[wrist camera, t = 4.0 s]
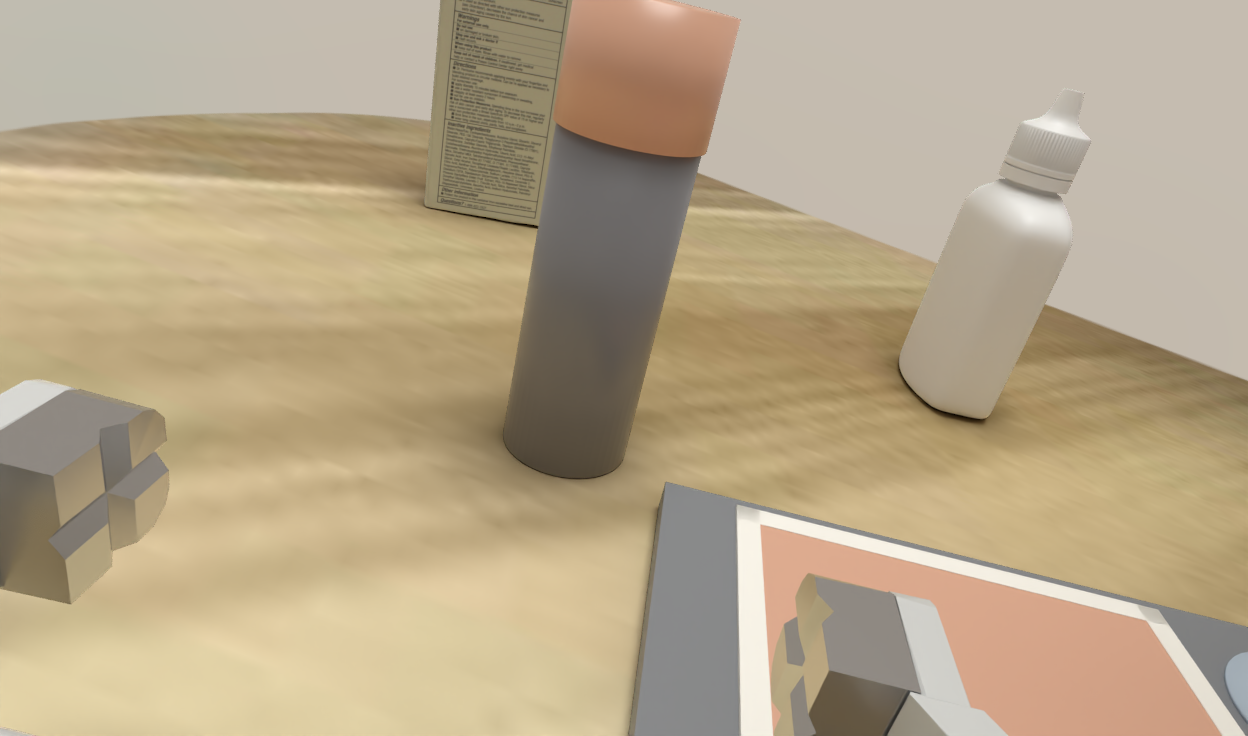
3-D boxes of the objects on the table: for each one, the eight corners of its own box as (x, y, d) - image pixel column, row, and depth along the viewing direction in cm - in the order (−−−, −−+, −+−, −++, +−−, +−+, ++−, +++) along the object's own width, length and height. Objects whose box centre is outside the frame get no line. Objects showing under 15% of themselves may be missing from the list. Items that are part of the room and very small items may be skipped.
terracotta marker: (634, 424, 25) (739, 16, 20) (619, 494, 21) (742, 23, 16) (517, 395, 25) (590, -20, 20) (483, 460, 22) (560, -21, 16)
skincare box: (546, 206, 44) (588, -37, 38) (544, 231, 40) (591, -35, 34) (430, 184, 43) (457, -68, 37) (417, 207, 39) (444, -70, 33)
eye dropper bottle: (1003, 388, 34) (1143, 106, 29) (981, 433, 30) (1141, 109, 24) (906, 348, 36) (1020, 75, 31) (871, 385, 32) (997, 73, 26)
